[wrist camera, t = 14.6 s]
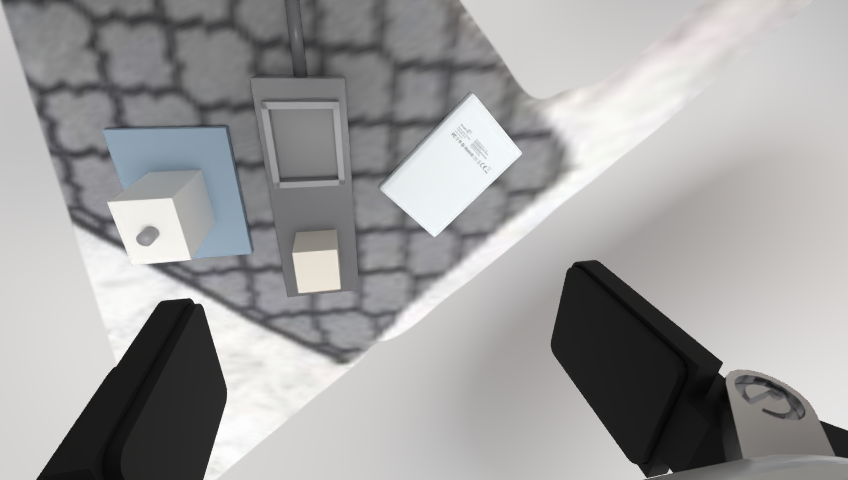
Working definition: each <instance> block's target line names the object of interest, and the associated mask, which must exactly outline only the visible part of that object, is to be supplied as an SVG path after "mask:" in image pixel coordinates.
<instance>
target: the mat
mask: <svg viewBox="0 0 848 480" xmlns="http://www.w3.org/2000/svg"><path fill="white" fill-rule="evenodd" d="M102 132H103V134H104V137H105V140H106V143H107V146H108V149H109V151H110V154H111V157H112V160H113V163H114V165H115V168H116V171H117V174H118V177H119V180H120V182H121V185H122V188H123V191H124V190H125V189H126V188H128V187H129V186H131V185H132V184H134V183H135V182H136V181H138V180H139V179H141V178H142V177H143V176H145V175H146V174H148V173H149V172H161V171H181V170H202V173H203V177H204V181H205V184H206V188H207V192H208V196H209V200H210V203H211V207H212V211H213V215H214V218H215V224H214V225H213V227H212V229H211V230H210V232H209V233H208V235H207V236H206V238H205V239H204V241H203V242H202V244H201V245H200V247H199V249H198V250H197V252H196V253H195V255H194V256H193V258H205V257H217V256H230V255H242V254H252V252H253V246H252V241H251V236H250V232H249V227H248V222H247V217H246V212H245V207H244V203H243V198H242V193H241V188H240V183H239V178H238V174H237V169H236V164H235V159H234V154H233V149H232V145H231V140H230V135H229V130H228V126H205V127H147V128H106V129H104V130H102Z"/></svg>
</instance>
